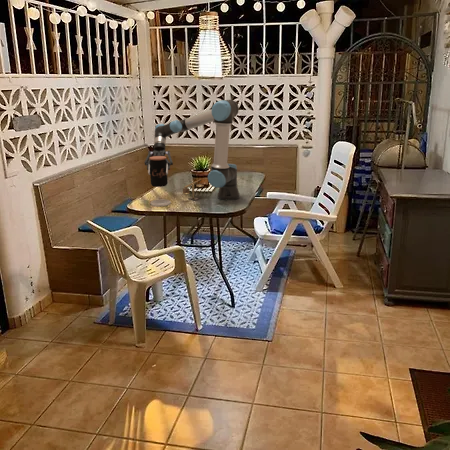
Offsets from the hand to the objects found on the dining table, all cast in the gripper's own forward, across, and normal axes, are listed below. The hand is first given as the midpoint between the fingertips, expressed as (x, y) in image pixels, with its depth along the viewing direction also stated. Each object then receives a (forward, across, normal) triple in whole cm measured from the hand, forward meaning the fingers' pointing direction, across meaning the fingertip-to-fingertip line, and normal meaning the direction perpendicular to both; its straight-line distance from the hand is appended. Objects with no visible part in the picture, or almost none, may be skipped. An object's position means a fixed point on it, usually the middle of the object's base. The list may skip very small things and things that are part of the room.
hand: (158, 173), depth 301 cm
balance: (+6, -21, -23) cm, 32 cm away
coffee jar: (+4, 0, -8) cm, 9 cm away
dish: (+13, 0, -16) cm, 21 cm away
